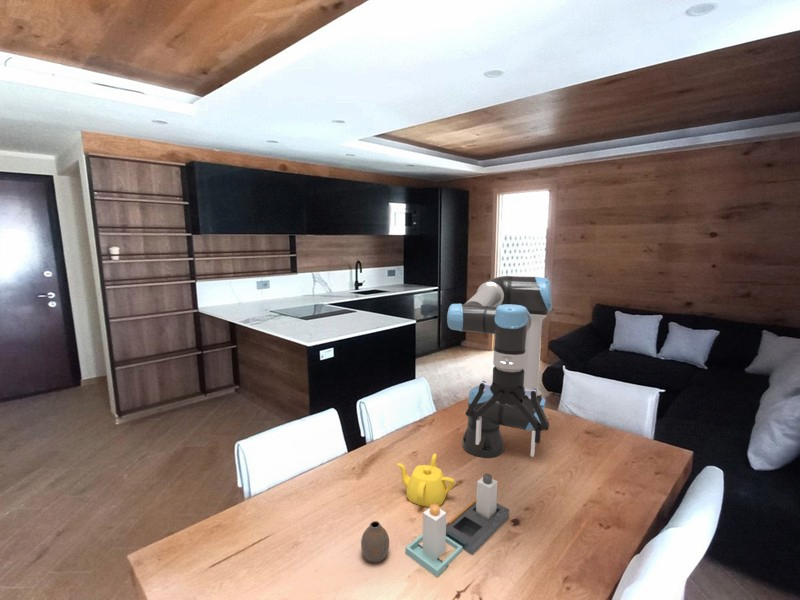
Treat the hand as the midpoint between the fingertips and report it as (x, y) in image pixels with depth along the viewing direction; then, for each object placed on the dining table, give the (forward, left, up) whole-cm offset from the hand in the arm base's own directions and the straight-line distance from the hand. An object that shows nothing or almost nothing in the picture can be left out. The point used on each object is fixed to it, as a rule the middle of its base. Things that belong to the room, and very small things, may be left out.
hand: (504, 448), depth 100 cm
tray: (-9, -17, -25) cm, 31 cm away
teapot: (-25, -2, -25) cm, 35 cm away
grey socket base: (-6, -3, -25) cm, 25 cm away
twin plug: (-6, +2, -24) cm, 24 cm away
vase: (-19, -28, -25) cm, 42 cm away
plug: (-9, -17, -24) cm, 31 cm away
